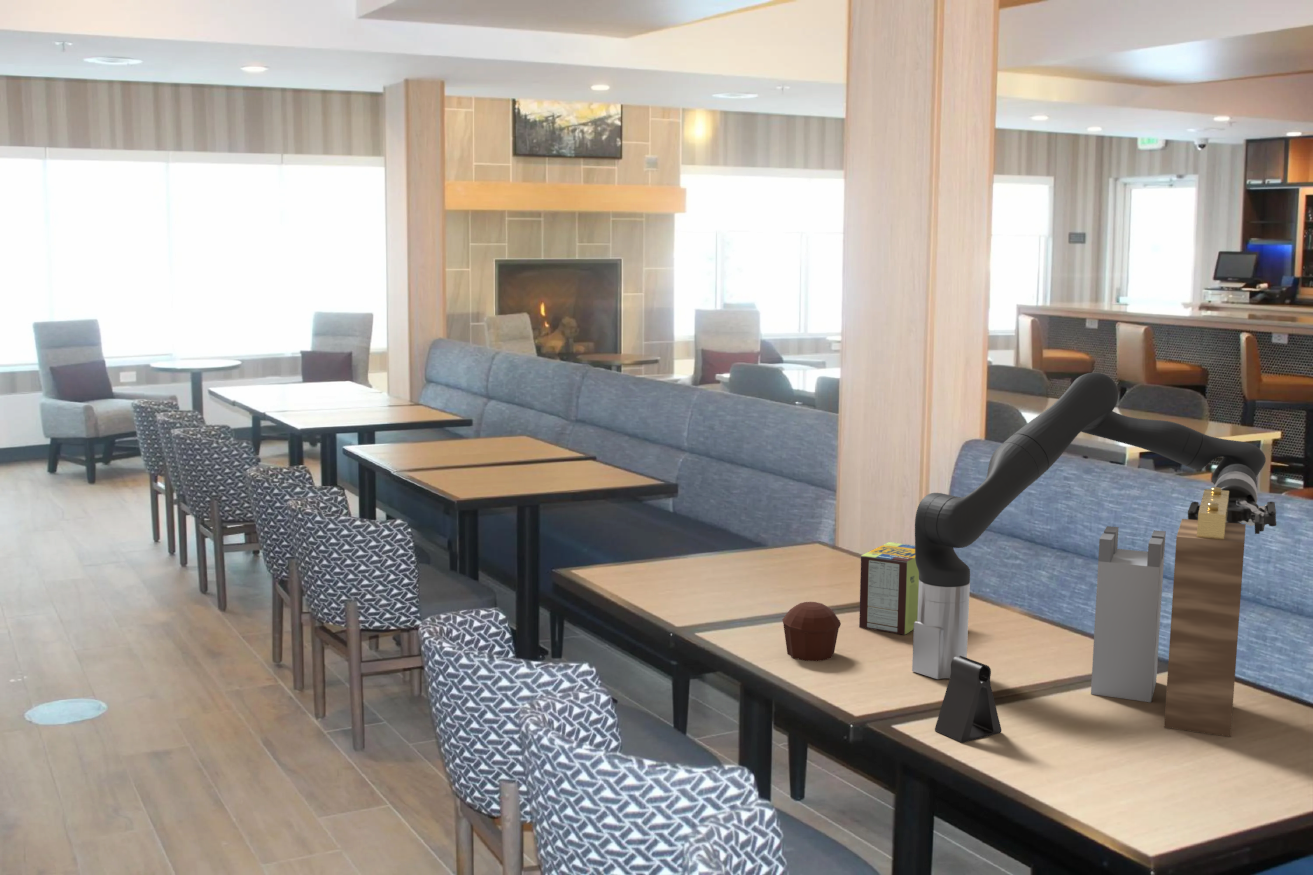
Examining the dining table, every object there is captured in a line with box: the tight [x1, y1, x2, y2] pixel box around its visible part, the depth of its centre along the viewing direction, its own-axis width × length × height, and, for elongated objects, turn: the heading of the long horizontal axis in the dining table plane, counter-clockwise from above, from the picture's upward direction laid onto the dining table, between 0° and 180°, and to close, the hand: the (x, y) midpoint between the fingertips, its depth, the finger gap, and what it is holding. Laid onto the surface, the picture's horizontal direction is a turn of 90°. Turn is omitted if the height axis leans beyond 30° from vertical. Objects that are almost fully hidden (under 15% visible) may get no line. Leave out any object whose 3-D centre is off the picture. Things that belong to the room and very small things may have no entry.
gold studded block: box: [1197, 486, 1229, 540], centre depth 218 cm, size 24×4×5 cm, turn 155°
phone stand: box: [934, 656, 1002, 744], centre depth 210 cm, size 9×6×12 cm, turn 121°
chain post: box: [1090, 525, 1166, 703], centre depth 231 cm, size 12×10×28 cm
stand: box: [1164, 518, 1247, 738], centre depth 216 cm, size 16×10×32 cm, turn 155°
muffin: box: [781, 601, 842, 662], centre depth 251 cm, size 12×11×10 cm
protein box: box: [858, 541, 919, 636], centre depth 272 cm, size 10×15×16 cm
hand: (1229, 528), depth 225 cm, fingers open, 8 cm apart
